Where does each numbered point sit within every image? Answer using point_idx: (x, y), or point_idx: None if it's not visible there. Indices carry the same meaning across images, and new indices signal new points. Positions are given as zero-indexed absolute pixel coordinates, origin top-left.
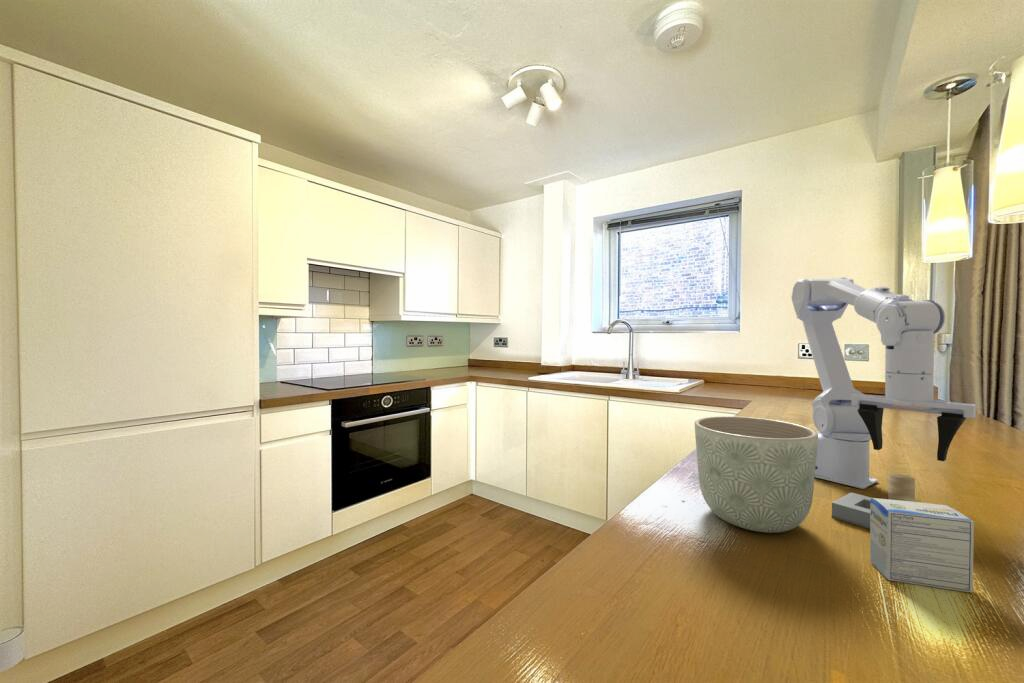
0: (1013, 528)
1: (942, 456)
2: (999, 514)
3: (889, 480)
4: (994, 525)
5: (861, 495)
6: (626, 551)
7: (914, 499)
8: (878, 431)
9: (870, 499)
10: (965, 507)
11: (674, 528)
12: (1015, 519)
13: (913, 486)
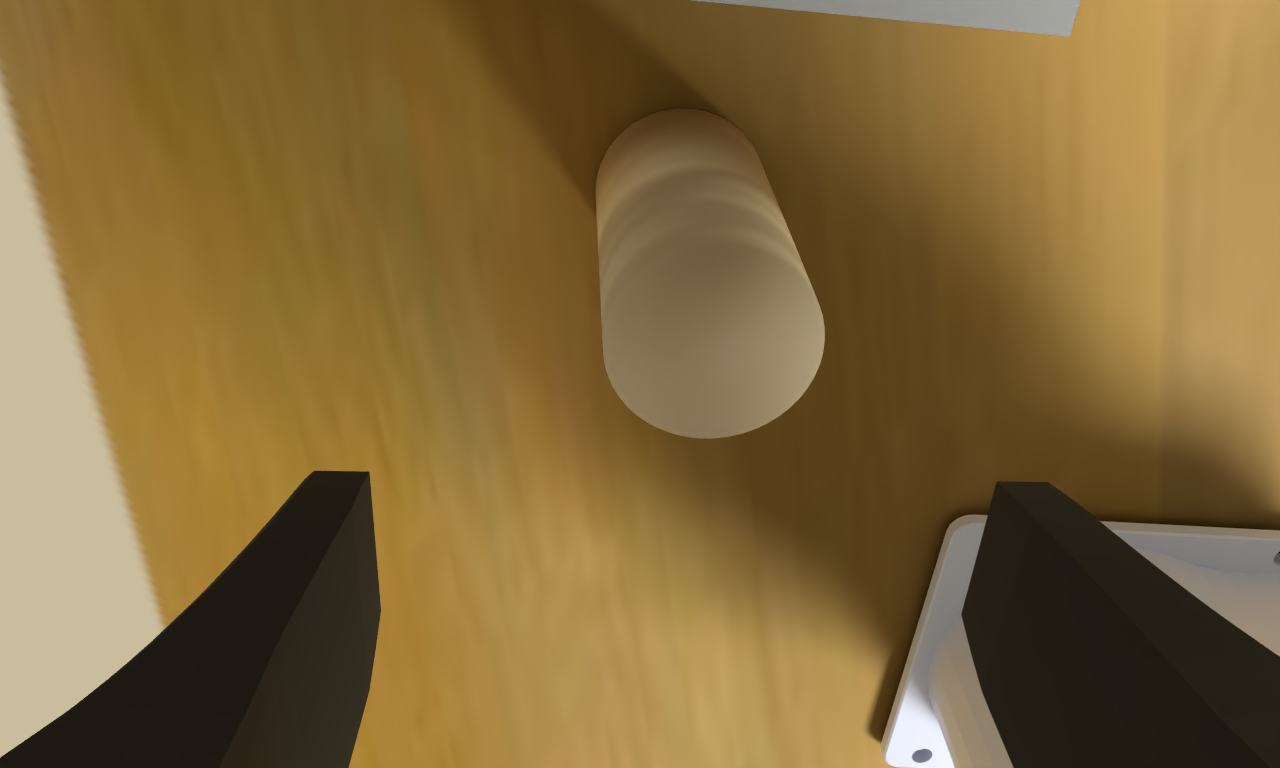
0: (120, 453)
1: (298, 499)
2: None
3: (801, 263)
4: (202, 422)
5: (981, 8)
6: None
7: (599, 246)
8: (1110, 735)
9: None
10: (399, 645)
11: None
12: None
13: (606, 282)
